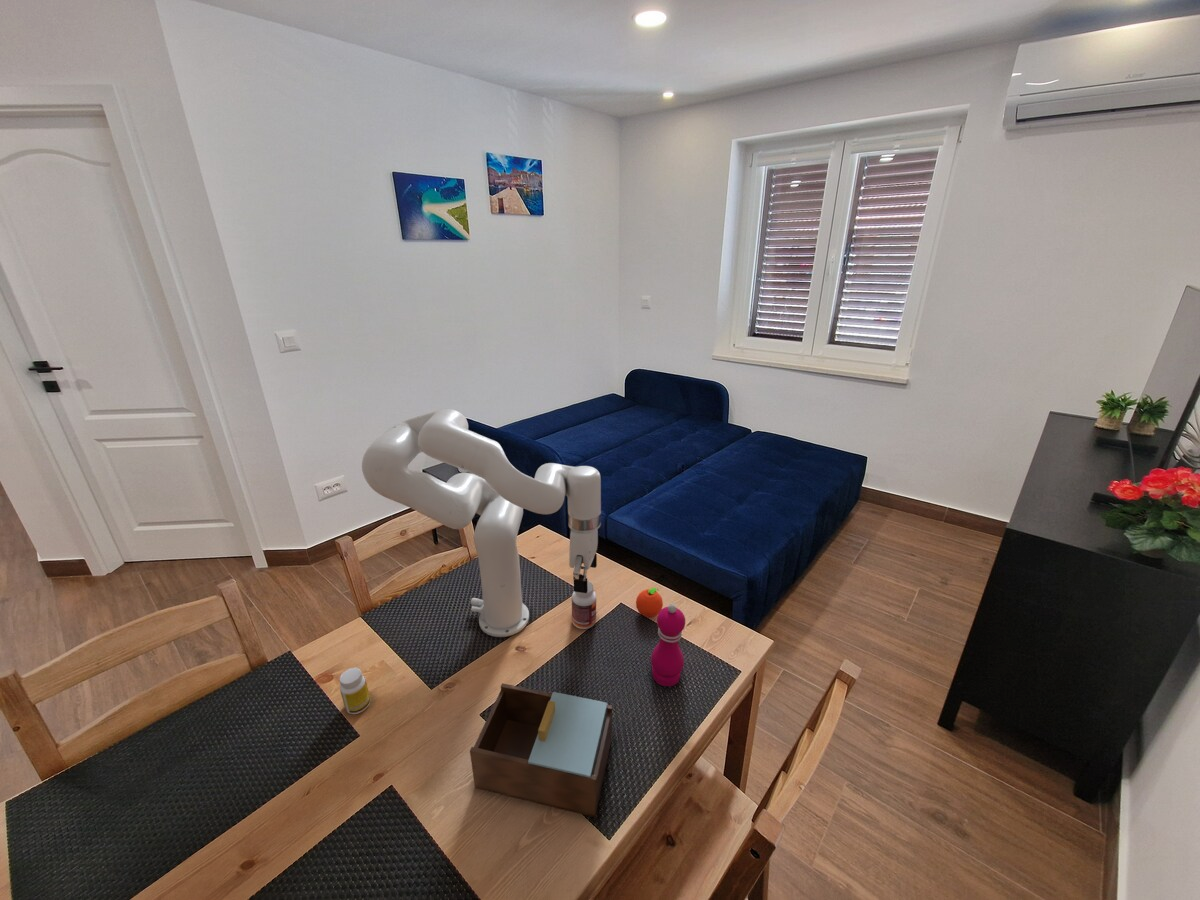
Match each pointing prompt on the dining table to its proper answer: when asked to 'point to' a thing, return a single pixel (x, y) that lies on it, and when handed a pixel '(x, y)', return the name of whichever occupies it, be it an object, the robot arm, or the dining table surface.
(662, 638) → the pepper mill
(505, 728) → the case
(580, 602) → the pill bottle
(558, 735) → the sliding box lid
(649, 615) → the clementine
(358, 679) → the supplement bottle
